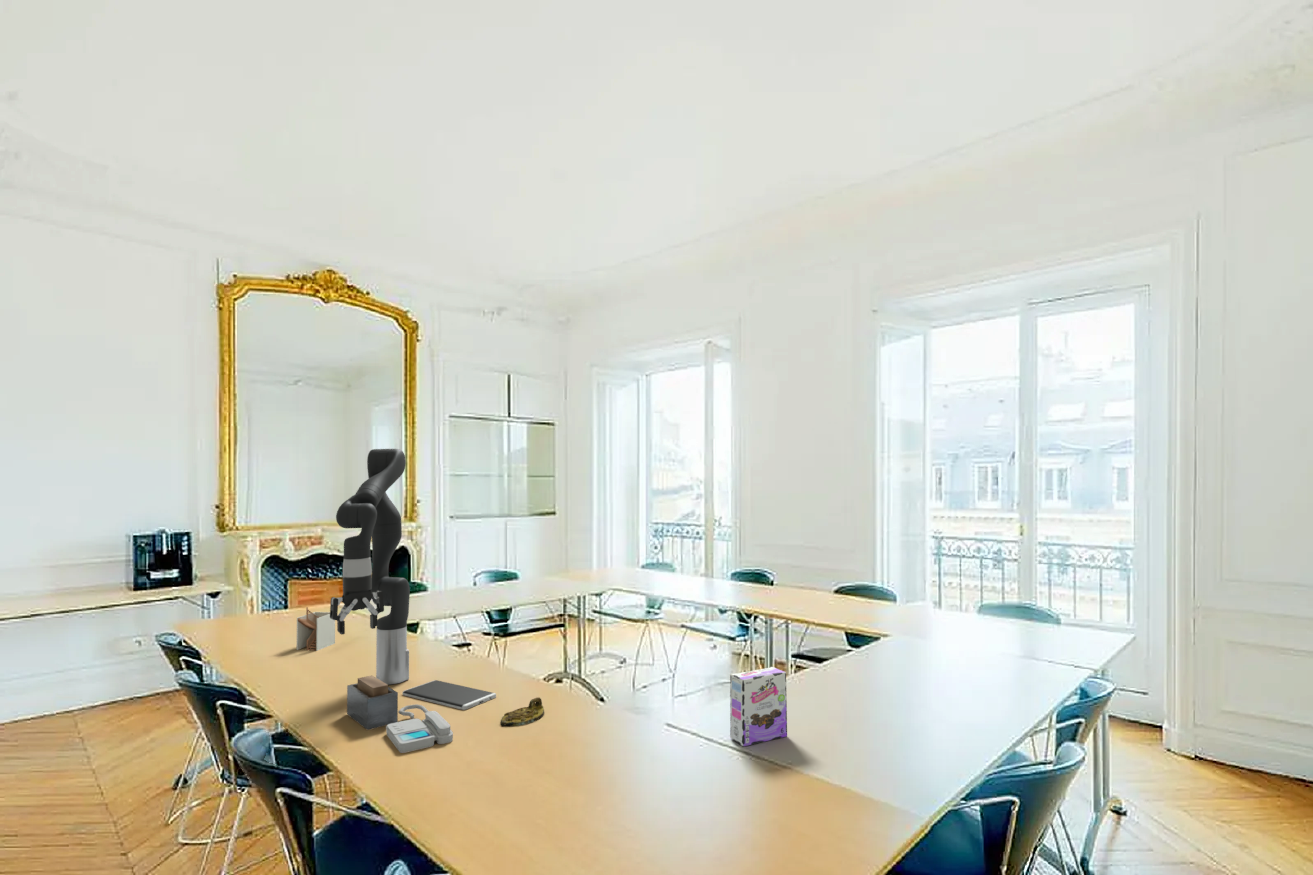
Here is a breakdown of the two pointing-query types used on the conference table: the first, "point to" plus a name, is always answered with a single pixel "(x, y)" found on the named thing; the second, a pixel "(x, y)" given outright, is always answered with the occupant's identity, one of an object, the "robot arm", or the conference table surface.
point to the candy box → (758, 706)
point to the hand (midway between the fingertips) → (357, 631)
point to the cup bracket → (372, 707)
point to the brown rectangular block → (372, 686)
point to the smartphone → (449, 694)
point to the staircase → (315, 630)
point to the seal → (524, 714)
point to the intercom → (419, 730)
